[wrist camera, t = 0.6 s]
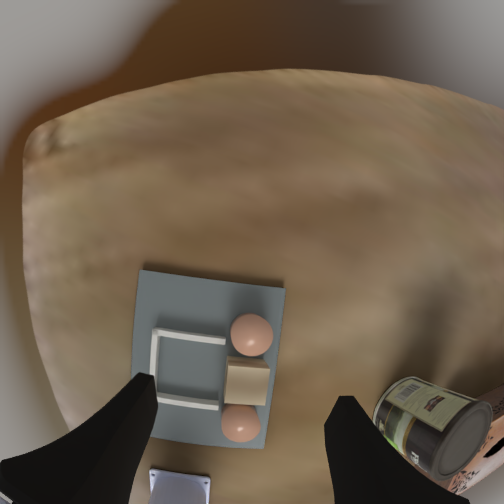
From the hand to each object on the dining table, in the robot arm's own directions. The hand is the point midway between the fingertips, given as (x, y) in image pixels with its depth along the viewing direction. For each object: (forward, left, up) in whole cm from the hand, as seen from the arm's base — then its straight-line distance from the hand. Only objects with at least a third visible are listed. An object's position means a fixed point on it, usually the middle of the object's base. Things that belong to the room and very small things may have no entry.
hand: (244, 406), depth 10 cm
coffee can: (-11, -26, -21) cm, 35 cm away
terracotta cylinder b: (0, -2, -20) cm, 20 cm away
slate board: (-5, +2, -21) cm, 22 cm away
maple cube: (-5, -2, -20) cm, 21 cm away
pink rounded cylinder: (-10, -2, -20) cm, 22 cm away
